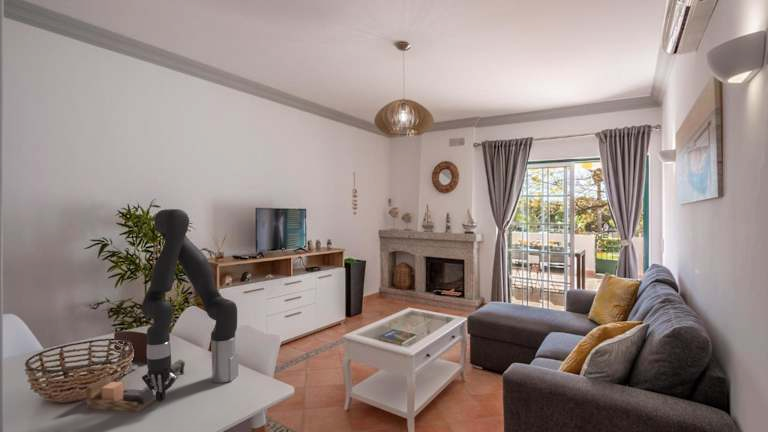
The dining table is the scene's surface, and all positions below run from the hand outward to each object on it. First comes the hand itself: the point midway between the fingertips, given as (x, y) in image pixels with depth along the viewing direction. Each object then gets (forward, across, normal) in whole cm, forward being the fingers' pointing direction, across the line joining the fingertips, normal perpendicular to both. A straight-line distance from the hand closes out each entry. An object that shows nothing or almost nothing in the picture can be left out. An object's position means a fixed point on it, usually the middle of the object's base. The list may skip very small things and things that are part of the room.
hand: (160, 400), depth 143 cm
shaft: (0, -9, 0) cm, 9 cm away
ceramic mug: (+2, -34, +23) cm, 41 cm away
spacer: (+1, -19, 0) cm, 19 cm away
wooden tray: (+2, -15, 0) cm, 16 cm away
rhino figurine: (+2, -10, +20) cm, 23 cm away
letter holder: (+2, -37, +38) cm, 53 cm away
